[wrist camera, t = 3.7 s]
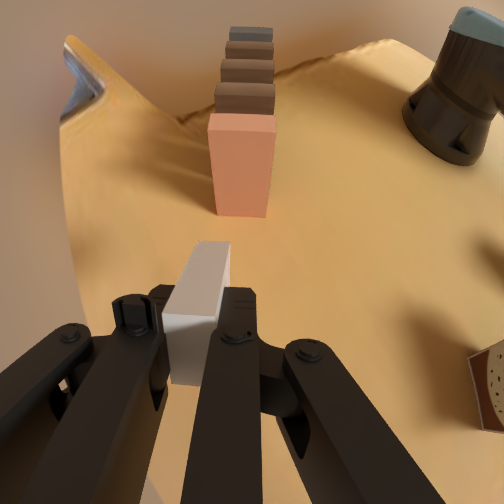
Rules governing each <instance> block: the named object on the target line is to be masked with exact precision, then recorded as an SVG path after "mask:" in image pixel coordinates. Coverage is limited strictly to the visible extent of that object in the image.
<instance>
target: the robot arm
mask: <svg viewBox="0 0 504 504" xmlns="http://www.w3.org/2000/svg"><path fill="white" fill-rule="evenodd" d="M449 28H450V30H449V32H448V35H447V37H446V40H445V42H444V45H443V47H442V49H441V52H440V54H439V57H438V59H437V61H436V63H435V66H434V68H433V70H432V72H431V75H430V76H429V78H428V79H427V80H425V81H424V82H423V83H422V84H421V85H420V86H419V87H418V88H417V89H416V90H415V91H414V92H413V93H412V94H411V95H410V96H409V97H408V98H407V100H406V103H405V105H404V107H403V111H402V113H403V118H404V121H405V123H406V125H407V127H408V128H409V130H410V131H411V132H412V134H413V135H414V136H415V137H416V138H417V139H418V140H419V141H420V142H421V143H422V144H423V145H424V146H425V147H426V148H428V149H429V150H430V151H431V152H433V153H434V154H436V155H437V156H439V157H441V158H442V159H444V160H446V161H448V162H451V163H453V164H456V165H461V166H470V165H472V164H474V163H475V162H476V161H477V160H478V158H479V157H480V156H481V154H482V152H483V150H484V147H485V143H486V139H487V136H488V132H489V128H490V124H491V121H492V120H493V118H494V117H495V115H496V114H497V112H498V111H499V112H501V113H502V114H503V115H504V22H503V21H502V20H500V19H498V18H496V17H494V16H492V15H490V14H488V13H486V12H484V11H481V10H479V9H476V8H473V7H462V8H460V9H459V10H458V12H457V14H456V16H455V19H454V21H453V23H452V24H451V25H450V26H449ZM112 308H113V313H114V318H115V323H116V328H115V330H114V331H113V333H112V334H111V335H107V336H94V337H91V333H90V330H89V328H88V327H87V326H85V325H83V324H78V323H69V324H66V325H63V326H61V327H59V328H57V329H55V330H54V331H53V332H52V333H50V334H49V335H48V336H46V337H45V338H44V339H43V340H41V341H40V342H39V343H37V344H36V345H35V346H34V347H33V348H31V349H30V350H28V351H27V352H26V353H25V354H24V355H22V356H21V357H20V358H18V359H17V360H16V361H15V362H14V363H12V364H11V365H10V366H9V367H7V368H6V369H5V370H4V371H2V372H1V373H0V504H139V503H140V499H141V495H142V491H143V487H144V483H145V479H146V475H147V471H148V467H149V463H150V459H151V455H152V452H153V448H154V444H155V440H156V437H157V433H158V429H159V426H160V422H161V418H162V415H163V411H164V408H165V404H166V400H167V397H168V386H167V379H168V376H169V373H170V378H171V384H180V385H191V386H201V388H200V394H199V399H198V404H197V410H196V415H195V421H194V426H193V432H192V437H191V443H190V449H189V454H188V460H187V466H186V472H185V478H184V484H183V490H182V496H181V502H180V504H263V495H262V452H261V413H260V412H262V413H266V414H269V415H273V416H276V421H277V423H278V426H279V428H280V431H281V433H282V435H283V438H284V440H285V442H286V445H287V447H288V450H289V452H290V454H291V457H292V459H293V461H294V463H295V466H296V468H297V470H298V473H299V475H300V477H301V479H302V482H303V484H304V486H305V488H306V491H307V493H308V495H309V497H310V500H311V502H312V504H446V503H445V502H444V500H443V499H442V498H441V496H440V495H439V494H438V492H437V491H436V490H435V488H434V487H433V485H432V484H431V483H430V481H429V480H428V479H427V477H426V476H425V475H424V473H423V472H422V470H421V469H420V468H419V466H418V465H417V464H416V462H415V461H414V460H413V458H412V457H411V456H410V454H409V453H408V451H407V450H406V449H405V447H404V446H403V445H402V443H401V442H400V441H399V439H398V438H397V437H396V435H395V434H394V433H393V431H392V430H391V428H390V427H389V426H388V424H387V423H386V422H385V420H384V419H383V418H382V416H381V415H380V414H379V412H378V411H377V410H376V408H375V407H374V406H373V404H372V403H371V402H370V400H369V399H368V397H367V396H366V395H365V393H364V392H363V391H362V389H361V388H360V387H359V385H358V384H357V383H356V381H355V380H354V379H353V377H352V376H351V375H350V373H349V372H348V371H347V369H346V368H345V367H344V365H343V364H342V363H341V361H340V360H339V359H338V357H337V356H336V355H335V353H334V352H333V351H332V349H331V348H330V347H329V346H327V345H326V344H325V343H323V342H320V341H318V340H313V339H298V340H294V341H292V342H290V343H289V344H287V345H286V347H285V349H282V348H278V347H274V346H271V345H269V344H267V343H265V342H264V341H262V340H261V339H260V338H259V336H258V334H257V316H256V294H255V293H254V292H253V290H252V289H251V288H243V287H230V242H218V241H198V242H197V244H196V246H195V248H194V250H193V252H192V254H191V256H190V258H189V260H188V262H187V264H186V266H185V268H184V270H183V271H182V273H181V275H180V277H179V279H178V281H177V283H176V285H162V284H160V285H158V286H157V287H155V288H154V289H152V290H151V291H150V293H149V294H148V296H147V295H143V294H130V295H125V296H122V297H119V298H117V299H116V300H114V301H113V302H112ZM63 379H65V382H66V384H67V386H68V387H67V388H66V389H64V390H63V391H61V389H60V387H59V385H58V384H59V383H60V382H61V381H62V380H63Z"/></svg>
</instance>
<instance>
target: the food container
mask: <svg viewBox="0 0 504 504" xmlns="http://www.w3.org/2000/svg"><path fill="white" fill-rule="evenodd" d="M467 361H468V365H469V369H470V373H471V377H472V381H473V385H474V390H475V394H476V399H477V404H478V409H479V414H480V420H481V426H482V431H488V432H495V433H502V434H504V340H502V341H500V342H498V343H496V344H494V345H492V346H490V347H488V348H486V349H484V350H482V351H480V352H478V353H475V354H473V355H471V356H469V357H467Z"/></svg>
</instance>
